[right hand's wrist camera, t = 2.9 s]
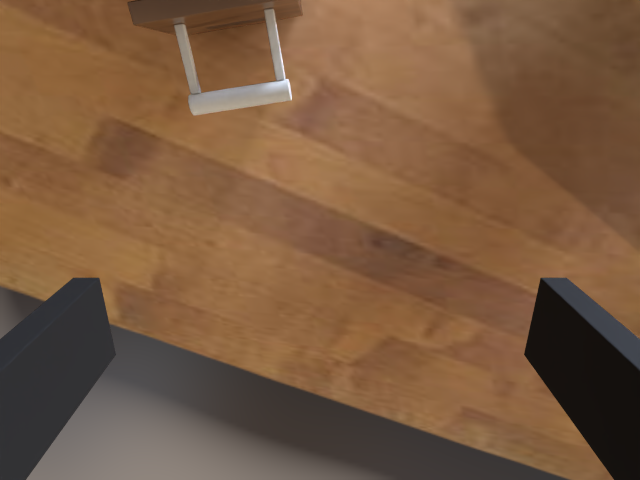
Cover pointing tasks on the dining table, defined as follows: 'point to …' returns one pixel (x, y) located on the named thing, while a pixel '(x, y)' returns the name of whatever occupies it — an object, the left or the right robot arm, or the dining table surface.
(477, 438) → the dining table surface
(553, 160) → the dining table surface
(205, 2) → the drawer
